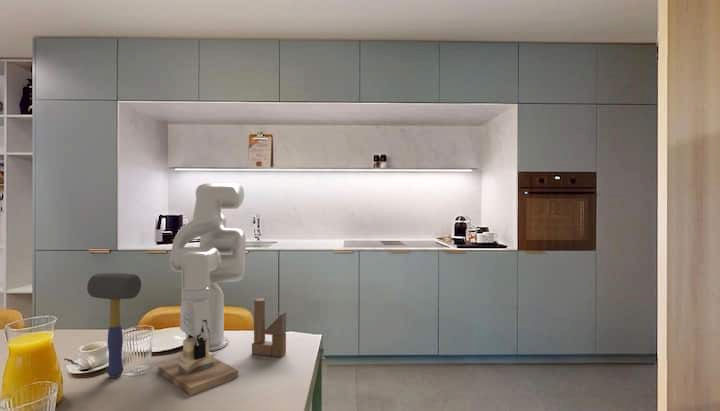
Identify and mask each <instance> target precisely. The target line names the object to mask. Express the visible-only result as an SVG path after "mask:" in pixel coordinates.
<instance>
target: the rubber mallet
mask: <svg viewBox="0 0 720 411" xmlns="http://www.w3.org/2000/svg"><path fill="white" fill-rule="evenodd" d="M141 288H142V280H141V278H140V276H139V275H137V274H135V273H134V274H133V273H126V272H125V273H123V272H107V273H106V272H105V273H102V272H101V273H95V274H93V275H92V276H91V277H90V279H89V280H88V282H87V286H86V289H87V293H88V295H89V296H91V298H95V299H104V300H109V326H108V327H109V328H108V330H107V331H108V332H107V349H108V350H107V351H108V367H107V369H106V370H107V375H108V376H109V378H118V377H120V376H122V374H123V372H124V365H123V354H122V353H123V345H124V339H123V338H124V337H123V328H122V325H121V300H132V299H134V298H136V297H137V296H138V295H139V293H140V292H141V290H142V289H141Z"/></svg>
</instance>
